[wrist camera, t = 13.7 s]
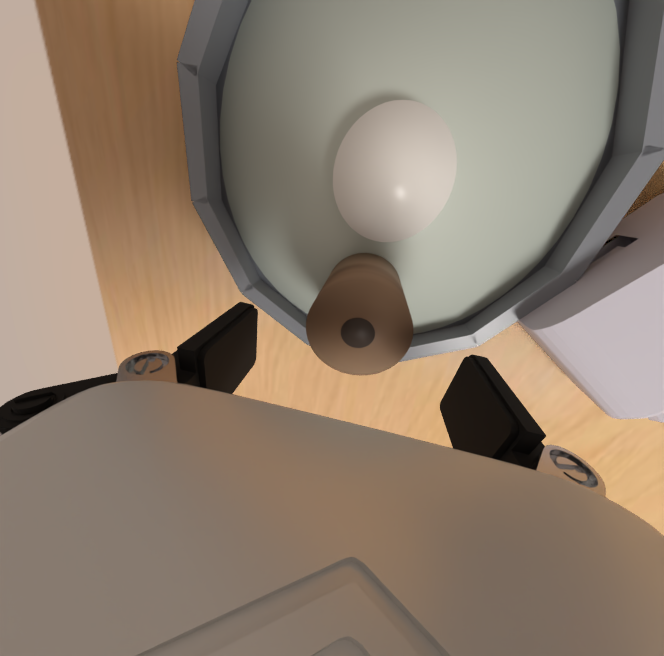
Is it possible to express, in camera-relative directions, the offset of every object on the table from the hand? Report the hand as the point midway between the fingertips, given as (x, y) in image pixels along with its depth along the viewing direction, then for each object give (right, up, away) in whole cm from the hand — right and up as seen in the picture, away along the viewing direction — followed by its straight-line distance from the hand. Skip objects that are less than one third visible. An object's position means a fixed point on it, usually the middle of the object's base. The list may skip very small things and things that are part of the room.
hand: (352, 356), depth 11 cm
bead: (+1, +4, +6) cm, 7 cm away
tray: (+2, +10, +3) cm, 11 cm away
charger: (+19, +1, +6) cm, 20 cm away
